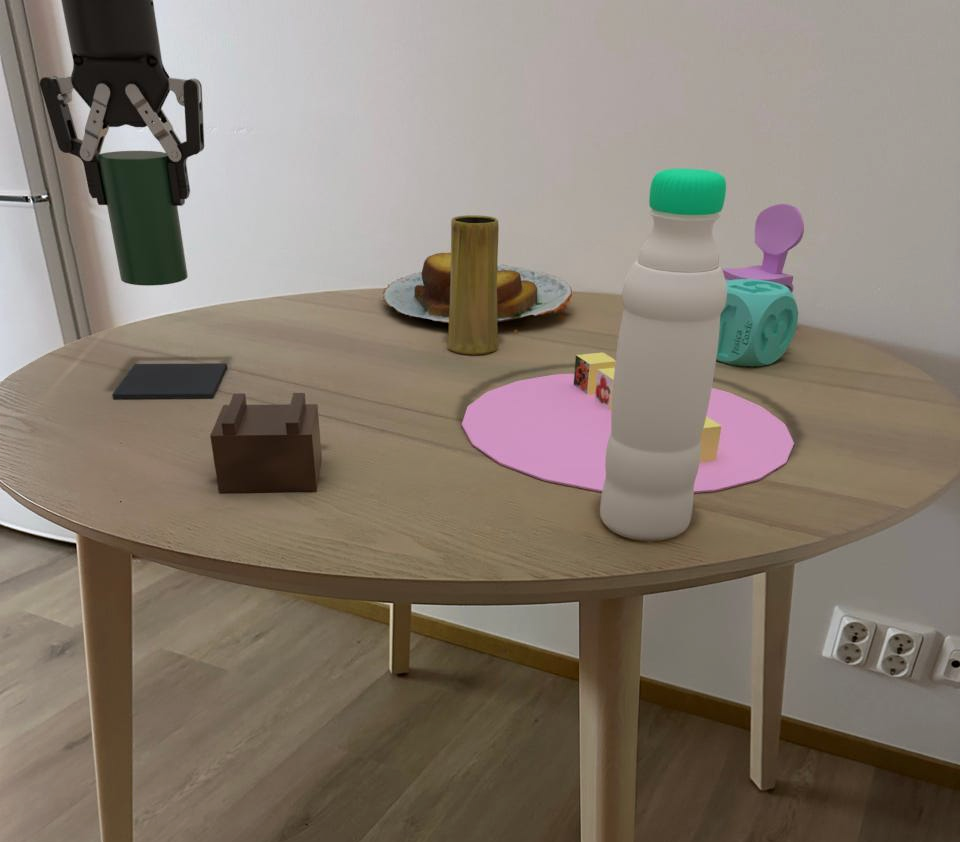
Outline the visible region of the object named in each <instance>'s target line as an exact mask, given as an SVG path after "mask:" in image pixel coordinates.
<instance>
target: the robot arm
mask: <svg viewBox="0 0 960 842" xmlns="http://www.w3.org/2000/svg"><path fill="white" fill-rule="evenodd" d="M60 2H61V6H62V10H63V15H64V16H63V17H64V21H65V26H66V27H65V28H66V31H67V32H66V33H67V36H68V42H69V47H70V52H71V57H72V63H73V65H72V71H71V74H70V76H62V77H58V76H56V75H50V76H44V77H42V78H41V79H40V80H39V87H40V91H41V94H42V97H43V101H44V104H45V106H46V110H47V114H48V116H49V120H50V123H51V127H52V131H53V133H54V137H55V140H56V144H57V147H58V149H59V150H60V151H61V152H62V153H64V154H69V155H73V156H76V157H77V158H79V159H80V160H81V162H82V164H83V168H84V173H85V179H86V183H87V189H88V193H89V195H90V197H91V199H96V202H97V205H98V206H107V203H106V197H105V192H104V187H103V181H102V176H101V171H100V165H99V160H98V155H99V154H101V152H102V148H103V145H104V142H105V139H106V136H107V134H108V133H109V130H110V128H119V127H123V126H130V127H133V128H146V127H147V128H148V130H149V132H151V134H152V135H153V137H154V138H155V139H156V140H157V141H158V142H159V144H160V146H161V148H162V149H163V150H164V153H167V155H168V157H169V160H170V162H168V163H167V166H168V172H169V179H170V185H171V191H172V198H173V203H174V206H177V207H182V206H184V205H185V203H186V200H187V199H188V198H189V197H190V194H191V188H190V181H189V173H188V167H187V161H188V158H190V157H192V156H195V155H198V154H199V153H201V152H202V151H204V149H205V129H204V109H203V108H204V106H203V103H204V102H203V86H202V83H201V81H200V80H199V79H197V78H189V79H183V78H176V77H170V75H169V74H168V72H167V71H166V67H165V66H164V64H163V59H162V52H161V51H162V50H161V45H160V38H159V33H158V32H159V31H158V25H157V19H156V12H155V5H154V0H61V1H60ZM73 91H75V92H76V93H77V94H78V95H79V97H80V98H81V99H82V100H83V102H84V103H85V104H86V105H87V106H88V108H90V109H89V112H88V117H87V119H86V123H85V127H84V135H83V137H82V139H79V138H78V134H77V132H76V131H77V130H76V128H75V127H76V126H75V124H74V121H73V117H72V114H71V111H70V107H69V104H70V103H71V102H72V101H73ZM170 92H173V93H174V95H175V97H176V98H175V99H176V101H177V103H178V104H179V105H180V106H182V107H184V123H185V141H183V142H182V141H181V140H180V138H179V136H178V135H177V133H176V131H175V129H174V127H173V124H172V123H171V121H170V120H169V118H168V116H167V114H166V113H165V112H164V110H163V106H164V104H165V101H166V100H167V98H168V96H169V94H170Z"/></svg>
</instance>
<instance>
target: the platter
mask: <svg viewBox="0 0 960 842" xmlns="http://www.w3.org/2000/svg"><path fill="white" fill-rule="evenodd" d="M615 361H616V359H614V358H613V357H611V356H609V355H608V354H606V353H605V352H602V351H601V352H593V353H582V354H575V361H574V362H575V363H574V372H573V373H556V374H555V373H554V374H549V375H544V376H538V377H533V378H526V379H521V380H515V381H514V382H510V383H508V384H507V383H506V384H505V385H502V386H499V387H496V388H493V389H490V390H488V391H486V392H485V393H483V394H482V395H481V396H480V397H478V398H477V399H475V400H474V401H473V402H471V403H470V404H468V405H467V407H466V410H465V413H464V416H463V419H462V422H461V427H462V429H463V431H464V433H465V434H466V437H467V438H468V440H469V442H470V444H471V446H473V448H475V449H477V450H479V451H480V452H481V453H483V454H484V455H486V456H487V457H488V458H490V459H491V460H493V461H494V462H495V463H497V464H499V465H500V466H503V467H506V468H509V469H511V470H514V471H517V472H520V473H522V474H525V475H528V476H530V477H533V478H535V479H538V480H542V481H544V482H549V483H553V484H559V485H564V486H567V487H573V488H579V489H583V490H588V491H593V492H599V493H602V490H603V485H604V481H605V478H606V467H605V461H606V450H607V444H608V440H609V437H610V434H611V408H612V392H613V381H614V370H615ZM700 444H701V455H700V463H699V468H698V473H697V476H696V479H695V482H694V494H699V493H701V494H702V493H712V492H713V493H714V492H719V491H723V490H727V489H730V488H735V487H738V486H742V485H746V484H749V483H754V482H757V481H760V480H762V479H763V478H765V477H767V476H769V475H770V474H772V473H773V472H775V471H776V469H777V470H778V469H780V468H781V467H784V466H785V465H786V464H787V462H788V460H789V458H790V454H791V453H792V450H793V448H794V446H793V445H795V442H794V439H793V438H792V436H791V433H790V432H789V429H788V427H787V425H786V424H785V423H784V422H783V421H782V420H780V419H779V418H778V417H776V416H775V415H774V414H773V413H772V412H769V410H768V409H766V408H765V407H763V406H762V405H759V404H757V403H755V402H752V401H750V400H747V399H745V398H743V397H741V396H739V395H736V394H734V393H732V392H729V391H725V390H721V389H718V388H715V387H712V389H711V395H710V400H709V405H708V410H707V415H706V420H705V424H704V428H703V431H702V435H701V438H700Z"/></svg>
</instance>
